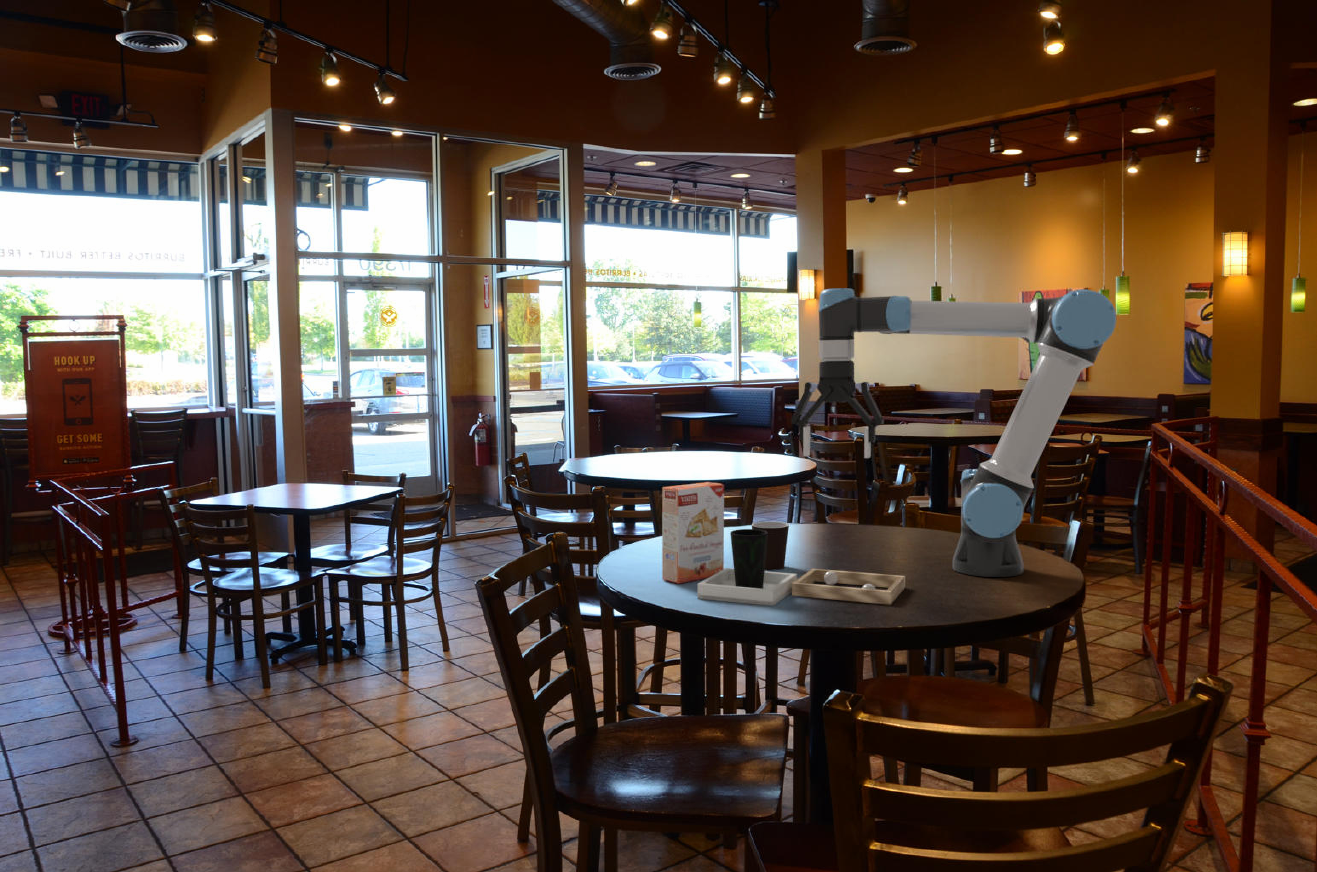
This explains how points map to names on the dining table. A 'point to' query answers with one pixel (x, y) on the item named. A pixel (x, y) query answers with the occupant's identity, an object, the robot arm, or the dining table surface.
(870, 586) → the pebble
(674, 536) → the cracker box
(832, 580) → the pebble
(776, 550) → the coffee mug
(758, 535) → the cup
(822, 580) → the frame
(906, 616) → the dining table surface
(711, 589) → the bin
